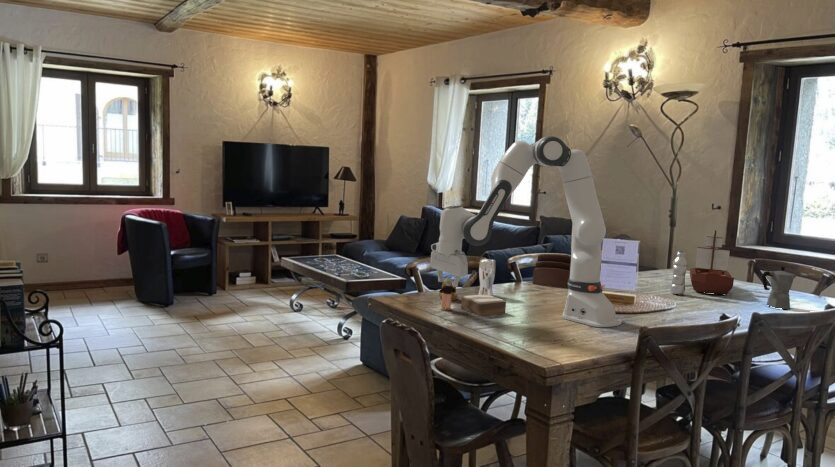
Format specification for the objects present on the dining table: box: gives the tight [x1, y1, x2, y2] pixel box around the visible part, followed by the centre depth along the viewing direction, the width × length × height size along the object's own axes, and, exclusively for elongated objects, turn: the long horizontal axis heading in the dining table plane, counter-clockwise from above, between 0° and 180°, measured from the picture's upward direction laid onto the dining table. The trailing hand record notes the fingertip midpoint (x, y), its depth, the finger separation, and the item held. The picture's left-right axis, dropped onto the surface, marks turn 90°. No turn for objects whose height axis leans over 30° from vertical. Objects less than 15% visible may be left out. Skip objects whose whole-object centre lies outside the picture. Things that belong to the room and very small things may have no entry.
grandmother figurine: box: [437, 276, 458, 311], centre depth 245 cm, size 8×4×13 cm, turn 117°
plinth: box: [460, 294, 507, 317], centre depth 245 cm, size 12×12×5 cm
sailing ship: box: [689, 230, 735, 295], centre depth 312 cm, size 18×40×29 cm, turn 159°
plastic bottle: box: [670, 250, 689, 296], centre depth 295 cm, size 6×7×20 cm
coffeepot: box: [761, 266, 798, 310], centre depth 277 cm, size 15×9×18 cm, turn 92°
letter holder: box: [532, 253, 571, 289], centre depth 304 cm, size 10×20×14 cm, turn 69°
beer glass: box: [478, 258, 496, 297], centre depth 274 cm, size 7×7×15 cm
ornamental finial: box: [439, 279, 459, 302], centre depth 263 cm, size 8×8×8 cm
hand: (447, 284), depth 244 cm, fingers open, 8 cm apart
